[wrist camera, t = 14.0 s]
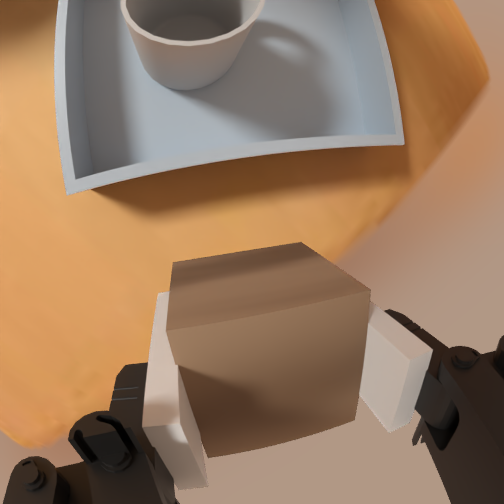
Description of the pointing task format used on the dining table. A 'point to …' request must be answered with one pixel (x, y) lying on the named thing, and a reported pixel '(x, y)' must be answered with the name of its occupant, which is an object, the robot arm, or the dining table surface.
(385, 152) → the dining table surface
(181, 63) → the cup
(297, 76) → the tote
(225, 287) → the walnut cube
